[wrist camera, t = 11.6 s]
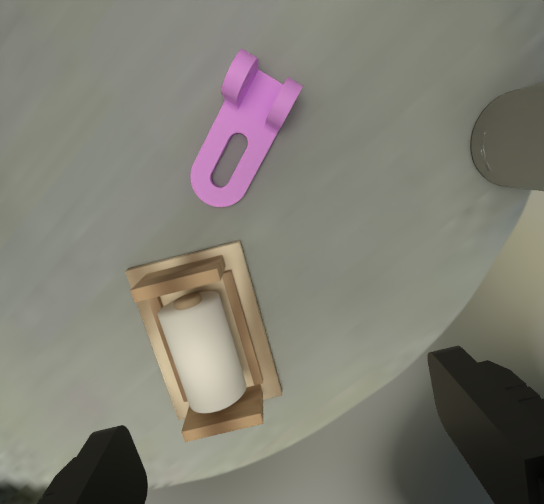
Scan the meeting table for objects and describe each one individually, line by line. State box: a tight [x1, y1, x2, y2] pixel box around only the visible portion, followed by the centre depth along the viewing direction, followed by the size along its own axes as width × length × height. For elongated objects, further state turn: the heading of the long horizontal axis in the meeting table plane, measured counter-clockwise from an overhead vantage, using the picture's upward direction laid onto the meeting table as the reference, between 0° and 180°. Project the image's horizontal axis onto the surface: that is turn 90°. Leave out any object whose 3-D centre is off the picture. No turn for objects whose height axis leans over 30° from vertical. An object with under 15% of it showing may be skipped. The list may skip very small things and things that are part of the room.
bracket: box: [191, 49, 303, 207], centre depth 34 cm, size 13×6×7 cm, turn 151°
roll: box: [158, 291, 246, 413], centre depth 38 cm, size 11×6×6 cm, turn 14°
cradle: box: [125, 240, 282, 442], centre depth 39 cm, size 12×18×6 cm, turn 14°
